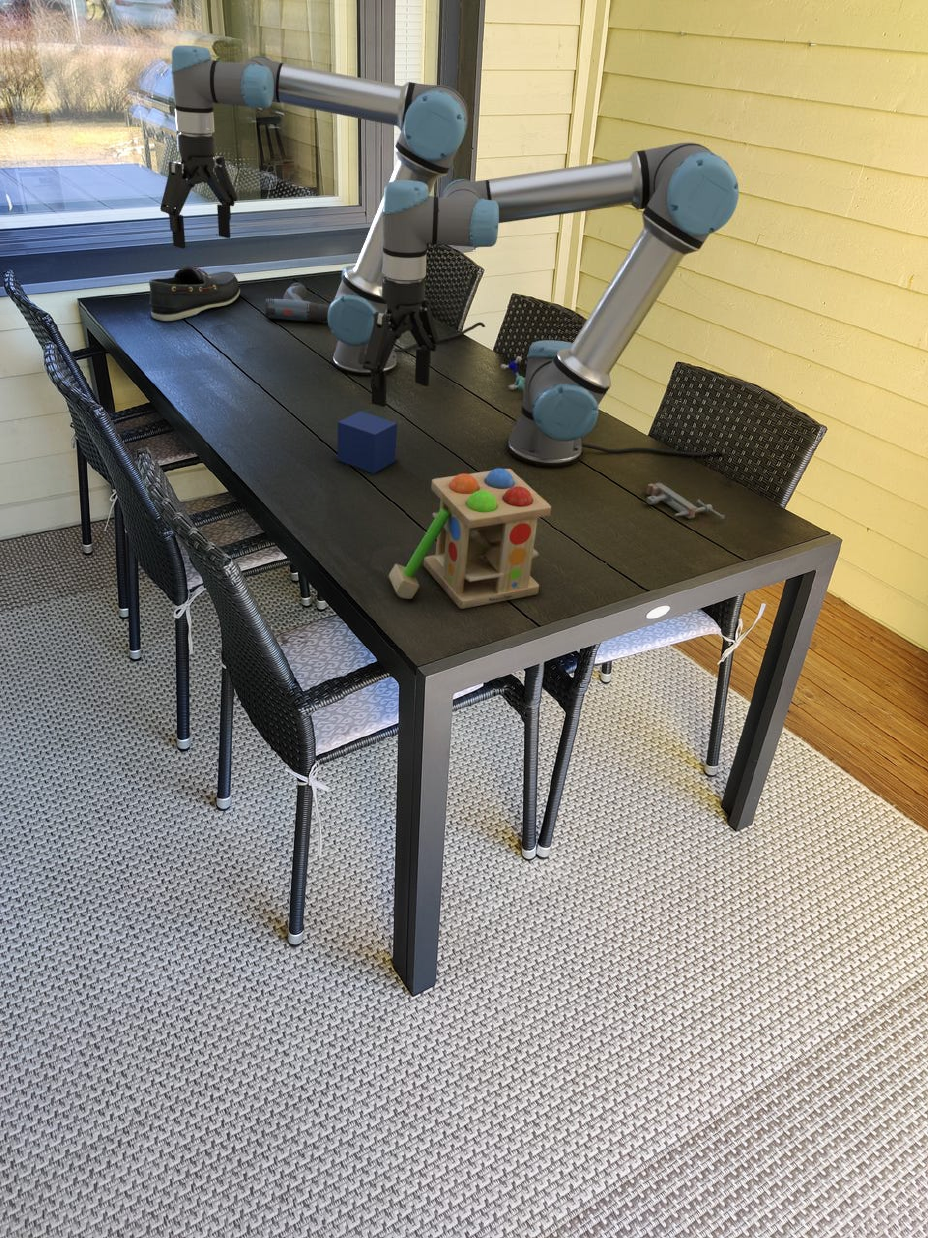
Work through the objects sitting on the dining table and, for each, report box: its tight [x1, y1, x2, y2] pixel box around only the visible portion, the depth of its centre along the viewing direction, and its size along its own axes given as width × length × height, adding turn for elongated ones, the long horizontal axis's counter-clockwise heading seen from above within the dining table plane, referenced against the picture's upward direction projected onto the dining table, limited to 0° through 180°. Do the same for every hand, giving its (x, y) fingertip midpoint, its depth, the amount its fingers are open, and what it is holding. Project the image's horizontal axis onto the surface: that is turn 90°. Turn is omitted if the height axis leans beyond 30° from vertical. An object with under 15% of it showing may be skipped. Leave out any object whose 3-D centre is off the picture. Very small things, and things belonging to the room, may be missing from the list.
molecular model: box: [500, 355, 525, 394], centre depth 230 cm, size 12×10×10 cm
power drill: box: [264, 282, 330, 322], centre depth 265 cm, size 5×19×20 cm
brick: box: [337, 410, 398, 474], centre depth 192 cm, size 7×9×8 cm
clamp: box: [645, 482, 726, 521], centre depth 187 cm, size 15×2×10 cm
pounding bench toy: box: [388, 468, 552, 610], centre depth 154 cm, size 23×14×18 cm, turn 116°
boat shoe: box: [148, 265, 241, 322], centre depth 262 cm, size 13×33×10 cm, turn 147°
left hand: (202, 241), depth 212 cm, fingers open, 13 cm apart
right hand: (400, 394), depth 183 cm, fingers open, 13 cm apart
